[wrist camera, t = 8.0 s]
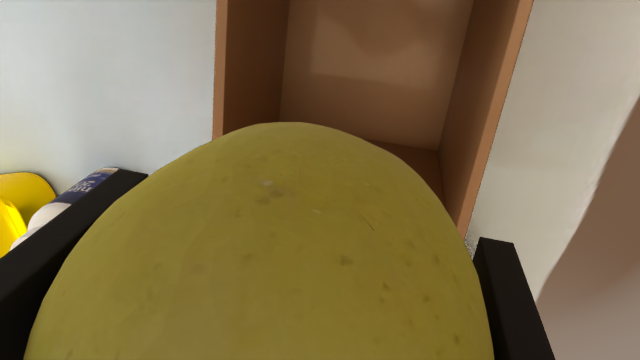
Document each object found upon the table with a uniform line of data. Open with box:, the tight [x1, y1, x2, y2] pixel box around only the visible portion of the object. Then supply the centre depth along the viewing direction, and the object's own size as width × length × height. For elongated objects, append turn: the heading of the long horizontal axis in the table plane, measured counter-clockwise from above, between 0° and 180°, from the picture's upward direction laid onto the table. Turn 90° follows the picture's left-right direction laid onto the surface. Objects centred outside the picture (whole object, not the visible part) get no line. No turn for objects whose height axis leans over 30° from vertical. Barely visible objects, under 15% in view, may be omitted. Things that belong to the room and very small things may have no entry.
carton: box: [212, 0, 534, 242], centre depth 24 cm, size 14×12×19 cm
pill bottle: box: [10, 168, 118, 251], centre depth 35 cm, size 5×5×10 cm
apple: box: [23, 122, 494, 360], centre depth 9 cm, size 8×8×10 cm
